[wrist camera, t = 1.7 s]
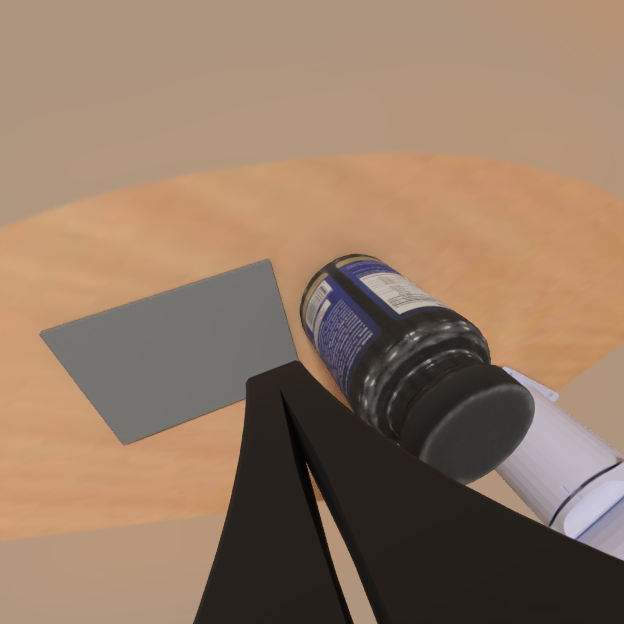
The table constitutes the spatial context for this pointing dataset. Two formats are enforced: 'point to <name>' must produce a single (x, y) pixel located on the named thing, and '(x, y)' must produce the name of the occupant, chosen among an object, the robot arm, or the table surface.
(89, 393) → the rubber mat
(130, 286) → the table surface
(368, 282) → the pill bottle
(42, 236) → the table surface
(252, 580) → the robot arm
